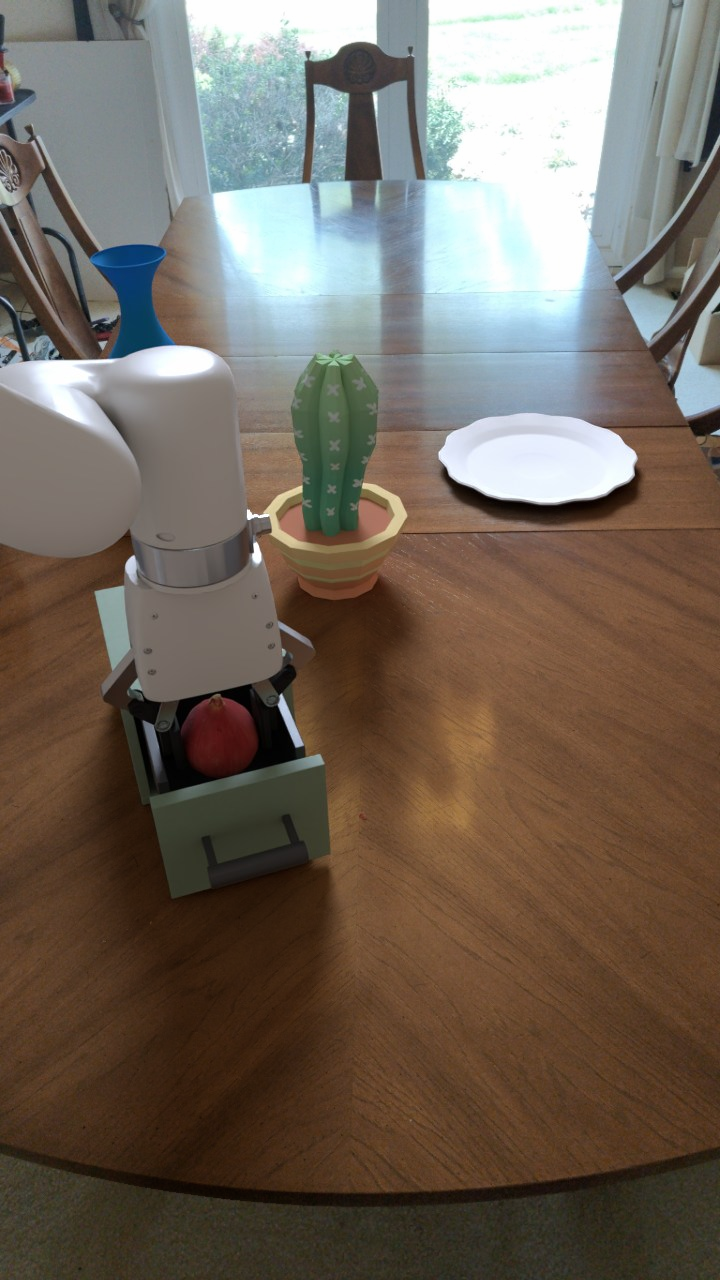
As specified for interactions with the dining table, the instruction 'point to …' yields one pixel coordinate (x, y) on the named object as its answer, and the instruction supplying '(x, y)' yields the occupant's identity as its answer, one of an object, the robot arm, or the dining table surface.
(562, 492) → the plate
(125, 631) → the cabinet
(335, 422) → the potted cactus
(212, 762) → the onion
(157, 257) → the vase
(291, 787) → the drawer
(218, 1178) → the dining table surface
